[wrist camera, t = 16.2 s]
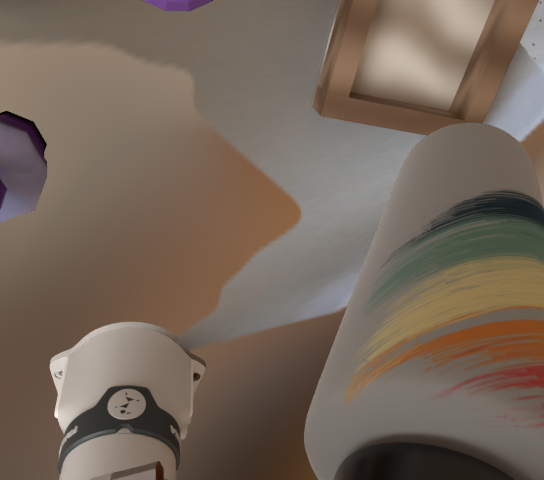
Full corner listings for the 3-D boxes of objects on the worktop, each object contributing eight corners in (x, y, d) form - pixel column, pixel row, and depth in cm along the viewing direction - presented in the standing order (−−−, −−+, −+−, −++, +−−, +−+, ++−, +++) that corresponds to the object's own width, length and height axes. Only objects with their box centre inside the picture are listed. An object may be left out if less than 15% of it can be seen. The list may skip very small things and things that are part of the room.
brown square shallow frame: (454, 132, 48) (473, 143, 45) (311, 104, 44) (320, 116, 41) (531, -44, 40) (559, -44, 37) (365, -98, 36) (381, -103, 33)
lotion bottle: (445, 253, 23) (358, 896, 7) (376, 167, 22) (110, 699, 7) (562, 196, 20) (856, 1159, 4) (486, 91, 19) (489, 825, 3)
